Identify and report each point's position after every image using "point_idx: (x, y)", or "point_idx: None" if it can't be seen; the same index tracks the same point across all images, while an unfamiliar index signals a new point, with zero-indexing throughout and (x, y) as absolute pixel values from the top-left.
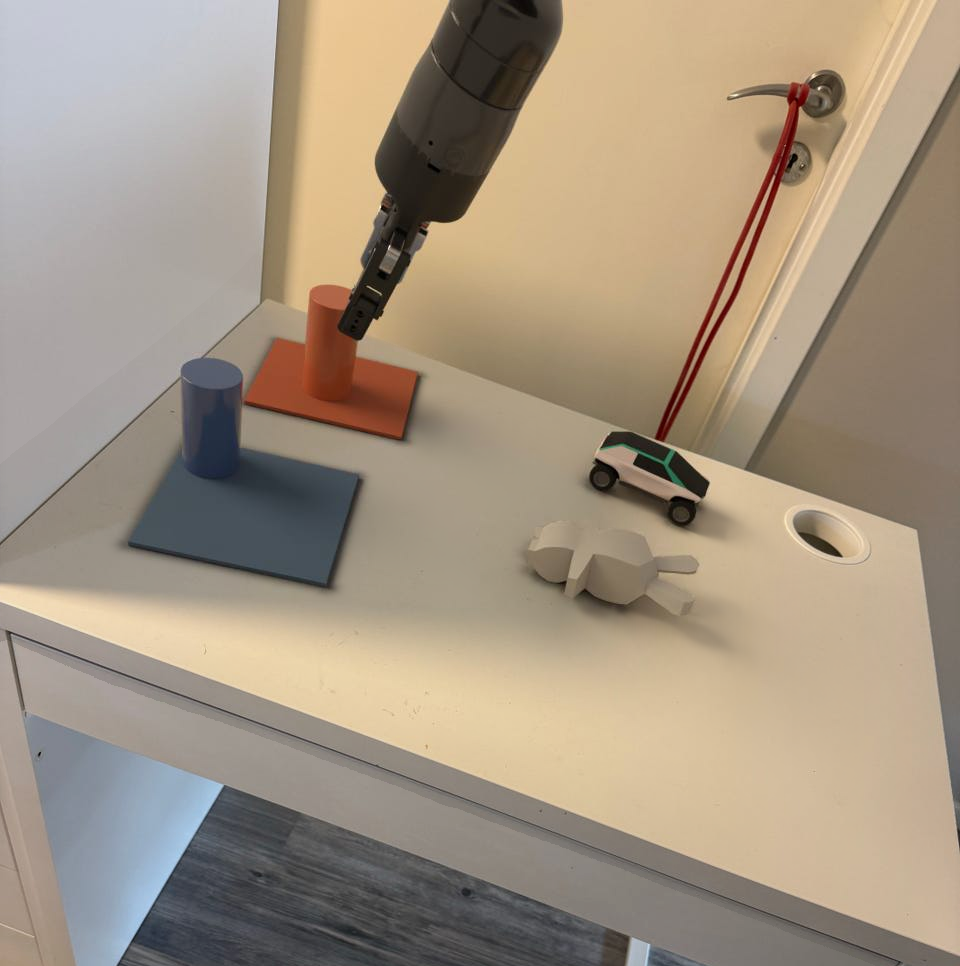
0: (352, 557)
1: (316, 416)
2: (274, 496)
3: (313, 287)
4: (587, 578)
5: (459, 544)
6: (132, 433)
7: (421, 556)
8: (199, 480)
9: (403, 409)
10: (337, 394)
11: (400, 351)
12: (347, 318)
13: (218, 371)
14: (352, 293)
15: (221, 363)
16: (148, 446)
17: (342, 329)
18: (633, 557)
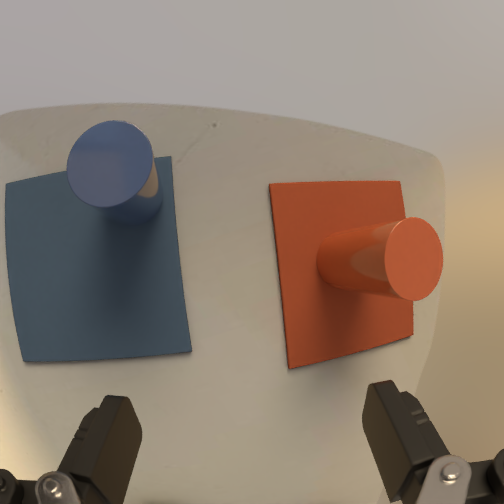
0: (68, 374)
1: (281, 269)
2: (106, 279)
3: (421, 219)
4: None
5: (142, 456)
6: (158, 108)
7: None
8: None
9: (343, 351)
10: (326, 280)
11: (438, 302)
12: (75, 436)
13: (115, 167)
14: (37, 482)
15: (140, 162)
16: (142, 129)
17: (90, 412)
18: None
